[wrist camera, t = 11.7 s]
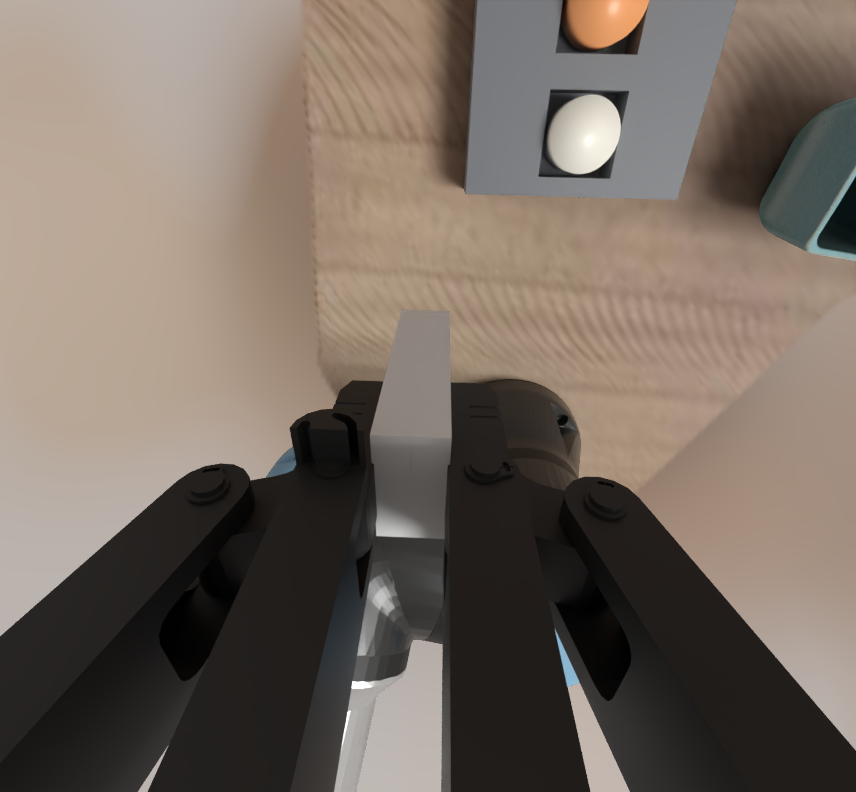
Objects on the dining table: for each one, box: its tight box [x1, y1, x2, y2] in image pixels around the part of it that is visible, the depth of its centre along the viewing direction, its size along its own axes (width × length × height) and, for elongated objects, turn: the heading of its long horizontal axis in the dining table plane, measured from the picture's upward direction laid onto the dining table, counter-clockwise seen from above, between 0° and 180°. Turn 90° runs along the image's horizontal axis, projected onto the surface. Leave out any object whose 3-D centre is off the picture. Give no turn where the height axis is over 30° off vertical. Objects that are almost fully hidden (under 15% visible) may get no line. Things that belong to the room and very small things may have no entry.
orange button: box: [561, 0, 649, 52], centre depth 25 cm, size 4×4×3 cm
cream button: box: [543, 95, 621, 174], centre depth 29 cm, size 4×4×3 cm
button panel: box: [464, 0, 737, 200], centre depth 26 cm, size 21×15×4 cm
